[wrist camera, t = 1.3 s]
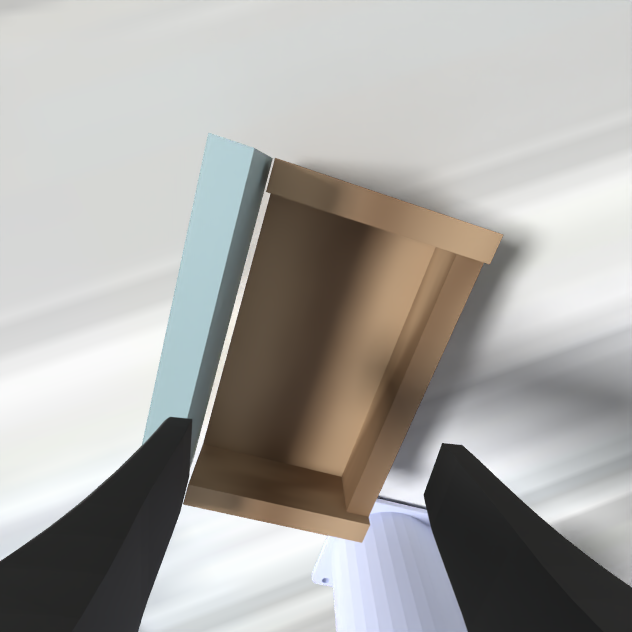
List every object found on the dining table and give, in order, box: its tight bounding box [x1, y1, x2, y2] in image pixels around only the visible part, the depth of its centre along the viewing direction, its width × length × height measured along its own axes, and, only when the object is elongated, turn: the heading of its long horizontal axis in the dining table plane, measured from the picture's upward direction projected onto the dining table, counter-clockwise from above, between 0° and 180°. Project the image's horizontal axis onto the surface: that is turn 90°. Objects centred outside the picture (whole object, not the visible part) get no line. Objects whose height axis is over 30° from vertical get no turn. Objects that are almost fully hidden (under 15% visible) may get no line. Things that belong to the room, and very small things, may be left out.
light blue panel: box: [142, 133, 273, 467], centre depth 16 cm, size 1×16×7 cm, turn 162°
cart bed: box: [183, 158, 503, 543], centre depth 20 cm, size 9×16×6 cm, turn 162°
